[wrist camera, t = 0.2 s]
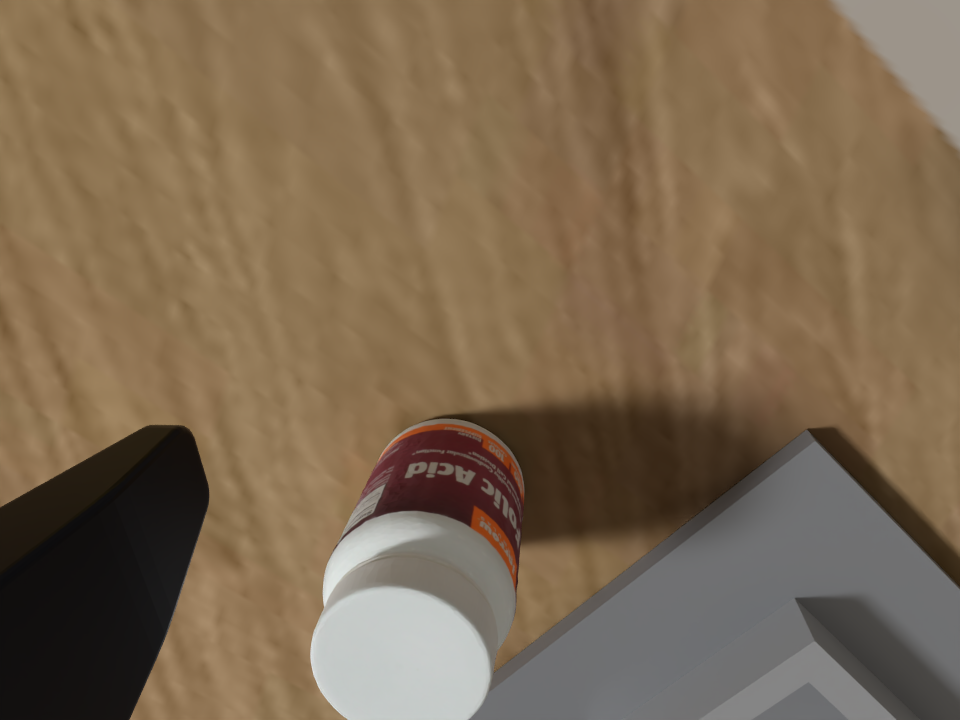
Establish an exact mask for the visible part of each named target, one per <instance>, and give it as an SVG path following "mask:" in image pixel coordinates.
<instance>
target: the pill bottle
mask: <svg viewBox="0 0 960 720" xmlns="http://www.w3.org/2000/svg"><path fill="white" fill-rule="evenodd" d="M523 505H524V481H523V476H522V472H521V469H520V466H519V464H518V462H517V460H516V458H515V457H514V455H513V453H512V452H511V450H510V449H509V448H508V447H507V446H506V445H505V444H504V443H503V442H502V441H501V440H500V439H499V438H498V437H496V436H495V435H494V434H492V433H491V432H489V431H488V430H486V429H484V428H482V427H481V426H478V425H476V424H473V423H471V422H467V421H463V420H458V419H435V420H429V421H424V422H421V423H419V424H416V425H414V426H412V427H410V428H408V429H406V430H405V431H403V432H402V433H400V434H399V435H398V436H396V437H395V438H394V439H393V440H392V441H391V442H390V443H389V444H388V446H387V447H386V448H385V450H384V451H383V453H382V454H381V456H380V458H379V460H378V462H377V464H376V466H375V468H374V470H373V472H372V474H371V476H370V478H369V480H368V482H367V484H366V486H365V488H364V490H363V492H362V494H361V497H360V499H359V501H358V503H357V505H356V507H355V509H354V511H353V513H352V515H351V517H350V519H349V521H348V523H347V525H346V527H345V529H344V532H343V534H342V536H341V538H340V540H339V542H338V543H337V545H336V547H335V549H334V550H333V552H332V554H331V556H330V558H329V561H328V564H327V567H326V571H325V576H324V583H323V602H324V609H323V612H322V614H321V616H320V618H319V621H318V623H317V625H316V628H315V630H314V633H313V638H312V643H311V665H312V670H313V674H314V677H315V679H316V682H317V685H318V687H319V688H320V690H321V692H322V694H323V695H324V696H325V698H326V699H327V700H328V701H329V703H330V704H331V705H332V706H333V707H334V708H335V709H336V710H337V711H338V712H339V713H340V714H341V715H342V716H344V717H345V718H347V719H348V720H469V719H470V718H471V717H472V716H473V715H474V714H475V713H476V712H477V711H478V709H479V708H480V707H481V706H482V704H483V702H484V700H485V699H486V697H487V695H488V692H489V689H490V687H491V682H492V678H493V671H494V664H495V659H496V654H497V651H498V649H499V648H500V647H501V645H502V644H503V642H504V640H505V639H506V637H507V635H508V633H509V630H510V628H511V625H512V622H513V619H514V615H515V611H516V590H517V584H518V568H519V555H520V541H521V527H522V519H523V510H524V506H523Z"/></svg>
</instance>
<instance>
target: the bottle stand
mask: <svg viewBox="0 0 960 720" xmlns="http://www.w3.org/2000/svg"><path fill="white" fill-rule="evenodd" d="M469 720H960V586H959V585H958V584H957V583H956V582H955V581H954V580H953V579H952V578H951V577H950V576H949V575H948V574H947V573H946V572H945V571H944V570H943V569H942V568H941V567H940V566H939V565H938V564H937V563H936V562H935V561H934V560H933V559H932V558H931V557H930V556H929V555H928V554H927V552H926V551H925V550H924V549H923V548H922V547H921V546H920V545H919V544H918V543H917V542H916V541H915V540H914V539H913V538H912V537H911V536H910V535H909V534H908V533H907V532H906V531H905V530H904V529H903V528H902V527H901V526H900V525H899V524H898V523H897V522H896V521H895V520H894V519H893V518H892V517H891V515H890V514H889V513H888V512H887V511H886V510H885V509H884V508H883V507H882V506H881V505H880V504H879V503H878V502H877V501H876V500H875V499H874V498H873V497H872V496H871V495H870V494H869V493H868V492H867V491H866V490H865V489H864V488H863V487H862V486H861V485H860V484H859V483H858V482H857V481H856V479H855V478H854V477H853V476H852V475H851V474H850V473H849V472H848V471H847V470H846V469H845V468H844V467H843V466H842V465H841V464H840V463H839V462H838V461H837V460H836V459H835V458H834V457H833V456H832V455H831V454H830V453H829V452H828V451H827V450H826V449H825V448H824V447H823V446H822V445H821V444H820V442H819V441H818V440H817V439H816V438H815V437H814V436H813V435H812V434H811V433H810V432H809V431H808V430H805V431H804V432H803V433H802V434H800V435H799V436H798V437H796V438H795V439H794V440H793V441H791V442H790V443H789V444H787V445H786V446H785V447H784V448H782V449H781V450H780V451H778V452H777V453H776V454H775V455H773V456H772V457H771V458H769V459H768V460H767V461H766V462H764V463H763V464H762V465H760V466H759V467H758V468H757V469H755V470H754V471H753V472H751V473H750V474H749V475H748V476H746V477H745V478H744V479H742V480H741V481H740V482H739V483H737V484H736V485H735V486H733V487H732V488H731V489H730V490H728V491H727V492H726V493H724V494H723V495H722V496H721V497H719V498H718V499H717V500H715V501H714V502H713V503H712V504H710V505H709V506H708V507H706V508H705V509H704V510H703V511H701V512H700V513H699V514H697V515H696V516H695V517H694V518H692V519H691V520H690V521H689V522H687V523H686V524H685V525H683V526H682V527H681V528H680V529H678V530H677V531H676V532H674V533H673V534H672V535H671V536H669V537H668V538H667V539H665V540H664V541H663V542H662V543H660V544H659V545H658V546H656V547H655V548H654V549H653V550H651V551H650V552H649V553H647V554H646V555H645V556H644V557H642V558H641V559H640V560H638V561H637V562H636V563H635V564H633V565H632V566H631V567H629V568H628V569H627V570H626V571H624V572H623V573H622V574H620V575H619V576H618V577H617V578H615V579H614V580H613V581H611V582H610V583H609V584H608V585H606V586H605V587H604V588H602V589H601V590H600V591H599V592H597V593H596V594H595V595H593V596H592V597H591V598H590V599H588V600H587V601H586V602H584V603H583V604H582V605H581V606H579V607H578V608H577V609H575V610H574V611H573V612H572V613H570V614H569V615H568V616H566V617H565V618H564V619H563V620H561V621H560V622H559V623H557V624H556V625H555V626H554V627H552V628H551V629H550V630H548V631H547V632H546V633H545V634H543V635H542V636H541V637H539V638H538V639H537V640H536V641H534V642H533V643H532V644H530V645H529V646H528V647H527V648H525V649H524V650H523V651H522V652H520V653H519V654H518V655H516V656H515V657H514V658H513V659H511V660H510V661H509V662H507V663H506V664H505V665H504V666H502V667H501V668H500V669H498V670H497V671H496V672H495V673H493V678H492V682H491V687H490V689H489V692H488V695H487V697H486V699H485V700H484V702H483V704H482V706H481V707H480V708H479V709H478V711H477V712H476V713H475V714H474V715H473V716H472V717H471V718H470V719H469Z"/></svg>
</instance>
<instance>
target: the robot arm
mask: <svg viewBox="0 0 960 720" xmlns="http://www.w3.org/2000/svg"><path fill="white" fill-rule="evenodd" d="M208 504H209V486H208V482H207V479H206V475H205V472H204V468H203V465H202V462H201V458H200V455H199V452H198V448H197V445H196V441H195V438H194V436H193V434H192V432H191V431H190V430H189V429H188V428H187V427H185V426H182V425H149V426H146V427H144V428H142V429H140V430H138V431H136V432H135V433H133V434H131V435H129V436H127V437H126V438H124V439H122V440H120V441H118V442H117V443H115V444H113V445H111V446H110V447H108V448H106V449H104V450H102V451H101V452H99V453H97V454H95V455H93V456H92V457H90V458H88V459H86V460H84V461H83V462H81V463H79V464H77V465H75V466H74V467H72V468H70V469H68V470H66V471H65V472H63V473H61V474H59V475H57V476H56V477H54V478H52V479H50V480H49V481H47V482H45V483H43V484H41V485H40V486H38V487H36V488H34V489H32V490H31V491H29V492H27V493H25V494H23V495H22V496H20V497H18V498H16V499H14V500H13V501H11V502H9V503H7V504H5V505H4V506H2V507H0V720H129V719H130V717H131V715H132V713H133V710H134V708H135V706H136V704H137V701H138V699H139V697H140V695H141V693H142V690H143V688H144V686H145V684H146V681H147V679H148V677H149V675H150V672H151V670H152V668H153V666H154V663H155V661H156V659H157V656H158V654H159V652H160V649H161V647H162V645H163V642H164V640H165V637H166V635H167V632H168V629H169V626H170V623H171V621H172V618H173V615H174V612H175V609H176V606H177V603H178V599H179V596H180V593H181V590H182V587H183V584H184V581H185V578H186V574H187V571H188V568H189V565H190V562H191V559H192V556H193V553H194V549H195V546H196V543H197V540H198V537H199V534H200V531H201V528H202V524H203V521H204V518H205V515H206V512H207V508H208Z"/></svg>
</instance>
